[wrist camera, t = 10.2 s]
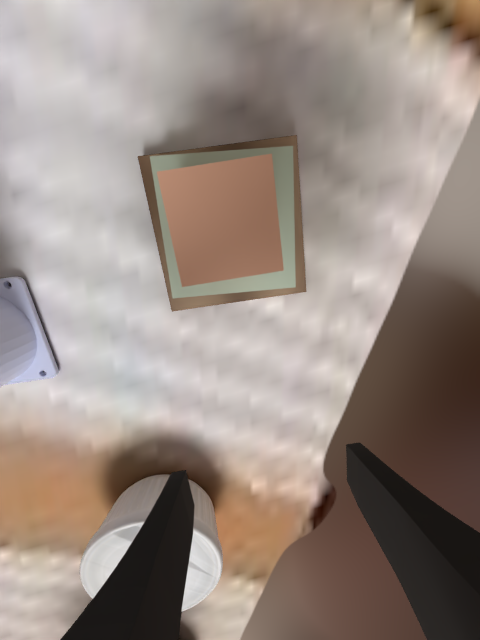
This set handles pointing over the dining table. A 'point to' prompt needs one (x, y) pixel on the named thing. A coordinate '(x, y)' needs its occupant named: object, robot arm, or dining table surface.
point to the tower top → (285, 214)
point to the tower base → (240, 296)
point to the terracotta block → (223, 219)
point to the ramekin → (126, 525)
